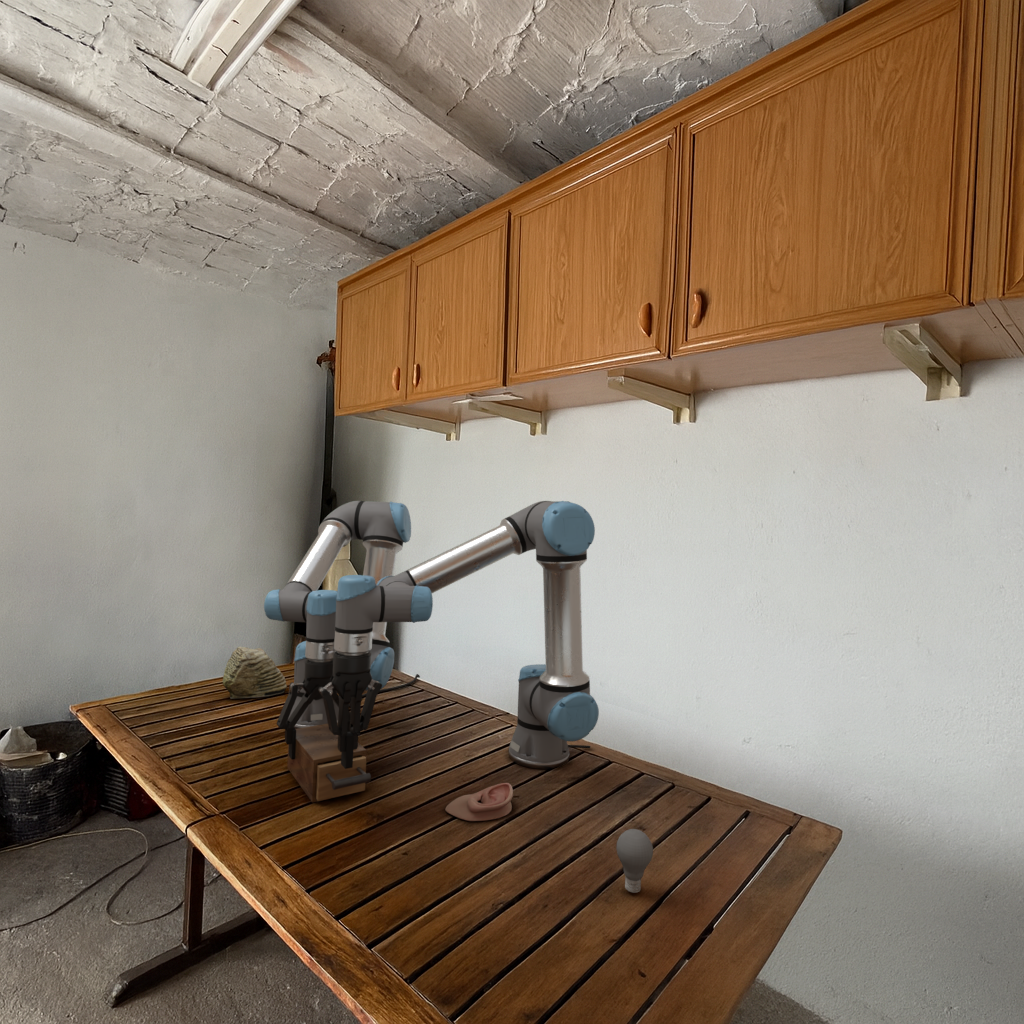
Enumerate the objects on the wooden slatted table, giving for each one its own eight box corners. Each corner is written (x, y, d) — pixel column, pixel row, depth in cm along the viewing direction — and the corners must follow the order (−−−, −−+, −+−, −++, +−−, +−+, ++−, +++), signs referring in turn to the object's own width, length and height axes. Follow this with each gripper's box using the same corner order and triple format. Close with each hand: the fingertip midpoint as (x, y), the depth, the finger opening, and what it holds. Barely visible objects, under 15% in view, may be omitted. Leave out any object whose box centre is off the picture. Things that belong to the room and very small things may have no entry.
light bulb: (610, 879, 108) (613, 822, 108) (644, 879, 109) (647, 822, 109) (619, 902, 102) (622, 840, 102) (655, 901, 103) (658, 840, 103)
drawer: (375, 802, 131) (377, 768, 130) (327, 814, 125) (328, 778, 125) (337, 759, 150) (338, 730, 150) (293, 768, 145) (295, 738, 144)
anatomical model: (441, 797, 127) (457, 773, 138) (440, 817, 127) (456, 791, 138) (505, 806, 124) (517, 781, 136) (504, 826, 124) (516, 800, 136)
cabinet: (364, 790, 137) (366, 749, 137) (312, 802, 131) (313, 760, 131) (335, 758, 153) (336, 722, 153) (287, 768, 147) (288, 729, 147)
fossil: (218, 695, 195) (220, 647, 195) (278, 685, 208) (279, 640, 207) (228, 703, 189) (230, 653, 188) (289, 692, 201) (290, 645, 201)
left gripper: (272, 667, 136) (268, 768, 136) (377, 656, 149) (373, 748, 150) (264, 659, 142) (260, 756, 143) (365, 649, 156) (361, 737, 156)
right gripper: (327, 658, 123) (320, 779, 123) (389, 652, 130) (383, 766, 130) (315, 649, 129) (309, 764, 129) (375, 644, 136) (370, 753, 137)
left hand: (318, 752), depth 146 cm, fingers closed on cabinet, 11 cm apart
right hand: (346, 765), depth 130 cm, fingers closed
